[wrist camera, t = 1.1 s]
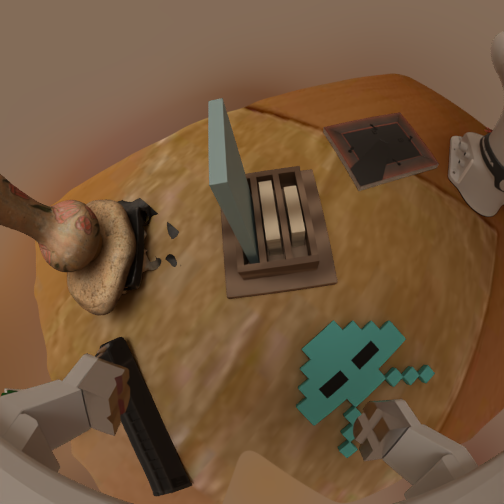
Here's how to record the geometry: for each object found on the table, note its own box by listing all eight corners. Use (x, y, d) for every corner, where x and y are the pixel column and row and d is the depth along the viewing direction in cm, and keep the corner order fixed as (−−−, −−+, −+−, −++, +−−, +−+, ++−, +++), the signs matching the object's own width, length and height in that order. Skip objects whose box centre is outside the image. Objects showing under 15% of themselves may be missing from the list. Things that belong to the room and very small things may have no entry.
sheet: (244, 201, 50) (208, 101, 27) (252, 200, 49) (222, 98, 27) (250, 264, 45) (209, 185, 23) (260, 263, 45) (227, 181, 23)
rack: (221, 187, 53) (212, 168, 47) (311, 173, 51) (313, 153, 45) (229, 298, 46) (219, 291, 40) (335, 283, 44) (342, 274, 38)
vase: (71, 262, 53) (-46, 195, 21) (129, 189, 57) (35, 83, 24) (124, 335, 46) (-44, 297, 13) (197, 246, 50) (75, 107, 17)
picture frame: (358, 192, 49) (435, 169, 49) (360, 186, 47) (439, 163, 46) (323, 134, 55) (397, 118, 54) (323, 126, 53) (400, 111, 52)
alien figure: (429, 372, 36) (359, 293, 43) (434, 373, 34) (362, 291, 41) (344, 453, 34) (269, 375, 41) (347, 458, 32) (268, 376, 39)
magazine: (184, 514, 26) (72, 358, 28) (167, 515, 26) (59, 363, 28) (201, 458, 43) (126, 333, 45) (188, 461, 43) (114, 339, 45)
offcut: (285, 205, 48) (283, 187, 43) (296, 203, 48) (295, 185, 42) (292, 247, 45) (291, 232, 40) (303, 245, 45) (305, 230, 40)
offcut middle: (263, 203, 49) (258, 182, 42) (274, 201, 49) (271, 180, 42) (270, 255, 45) (266, 240, 39) (282, 254, 45) (280, 238, 39)
